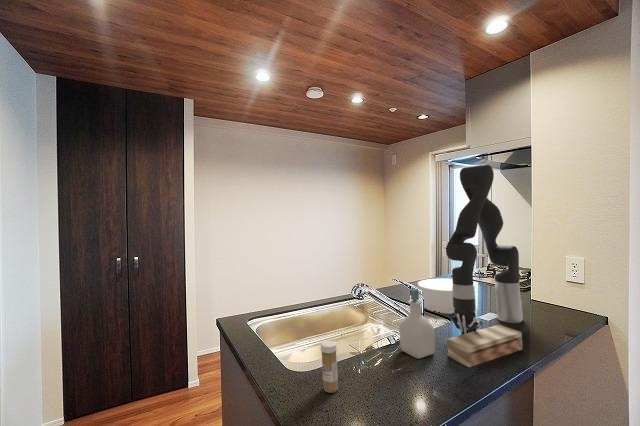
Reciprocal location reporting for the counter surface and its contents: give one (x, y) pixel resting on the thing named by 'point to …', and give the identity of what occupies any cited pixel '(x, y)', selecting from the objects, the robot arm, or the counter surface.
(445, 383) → the counter surface
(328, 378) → the sprinkles bottle
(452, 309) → the plate stack
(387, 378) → the counter surface
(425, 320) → the soap bottle
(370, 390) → the counter surface
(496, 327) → the low box
